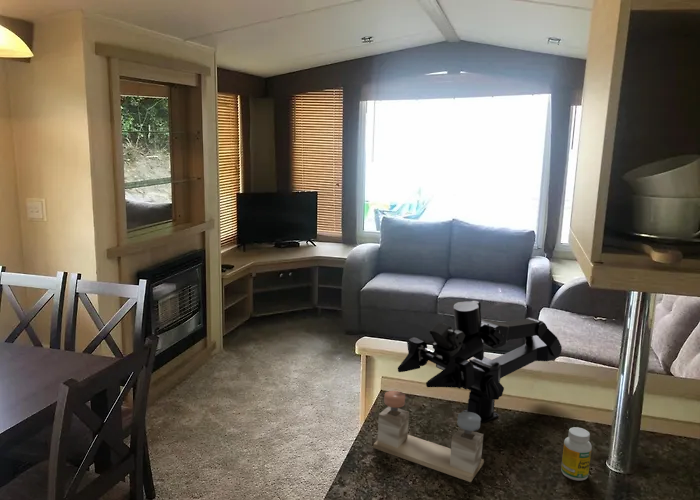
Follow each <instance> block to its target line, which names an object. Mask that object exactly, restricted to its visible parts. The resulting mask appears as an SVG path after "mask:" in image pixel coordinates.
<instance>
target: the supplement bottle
mask: <svg viewBox="0 0 700 500" xmlns="http://www.w3.org/2000/svg"><path fill="white" fill-rule="evenodd" d="M590 435H591V434H590V432H589V431H588V430H586V429H585V428H582V427H578V426H576V427H574V426H573V427H570V428H569V430H568V436H567V437H565V439H564V440H563V441H564V442H563V449H562V450H563V451H562V458H561V465H560V467H561V473H562V474H563V475H564V476H565V477H566V478H568V479H570V480H573V481H578V482H579V481H580V482H581V481H585V480H587V479H588V478H589V474H590V473H589V471H590V467H591V465H590V464H591V458H592V449H593V446H592V443H591V442H590V437H591V436H590Z"/></svg>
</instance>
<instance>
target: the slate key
mask: <svg viewBox="0 0 700 500" xmlns="http://www.w3.org/2000/svg"><path fill="white" fill-rule="evenodd" d="M480 421H481V418H480V416H479V415H477V414H475V413H472V412H463V411H461V412H460V413H458V414H457V421H456V422H457V423H456V425H457V426H458V428H459V429H460V428H462V429H464V433H466V434H472V431H474V432H476V431H478V430H479V429H480V428H481V422H480Z"/></svg>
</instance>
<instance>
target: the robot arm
mask: <svg viewBox="0 0 700 500" xmlns="http://www.w3.org/2000/svg"><path fill="white" fill-rule="evenodd" d="M481 306H482V305H481V301H478V300H472V301H468V300H467V301H466V300H465V301H458V302H456V303H454V305H453V314H454V325H455V328H453V327H452V326H450V325H447V324H446V323H443V322H440V321H438V322H437V323H436V324H434V326H432V328H431V329H430V330H429V334H430V335H431V337H432V339H433V341H434V342H433V343H432V349H433V350H431V349H430V348H429V349H428V343H427V342H425V341H424V340H422V339H420V338H417V337H415V336H413V337H411V338H409V339H408V340H407V341H406V343H407V345H406V346H407V351H408V352H407V355H406V356H405V358H404V359H403V360H402V362H401V363H400V364H399V366H398V367H397V372H398V373H403V372H409V371H414V370H418V369H421V367H423V366H425V365H427V363H428V362H431V363H433V364H435V367H436V368H437V369H439V370H441V371H439V372H438V373H437V374H436V375H434V376H433V377H431V378H430V379H428V380H427V381H426V382H425V384H426V385H425V386H426V387H427V388H455V389H463V390H466V391H467V390H468V391H469V394H468V400H467V408H466V409H465V410H463V411H462V412H472V413H475V414H477V415H479V416H480V418H481V421H480V424H481V423H482V424H483V423H487V422H488V421H491V420H493V419H495V418H497V417H499V413H497V412H495V401H496V400H499V399H500V397H502V396H503V394H504V391H505V387H504V386H503V385H502V383H501V379H502V378H504V377H506V376H508V375H510V374H512V373H514V372H516V371H518V370H521V368H524V367H526V366H528V365H530V364H532V363H534V362H551V361H554V360H556V359H557V358H559V356H560V355H561V353H562V351H563V350H562V347H563V346H562V344H561V342H560V340H559V338H558V336H556V335H555V334H554V332H552V331H551V330H550V329H549V328H548V326H547V324H546V323H545V322H544V321H542V320H540V319H536V318H533V317H526V318H522V319H516V320H507V321H502V322H501V321H499V322H498V321H493V320H490V319H484V318H483V319H482V314H481V313H482V311H481V309H482V307H481ZM517 339H523V340H524V341H525V343H524V344H523V345H521V346H519V347H517V348H515V349H513V350H510V351H508V352H506V353H503V354H502V355H500V356H498V357H495V358H493V359H491V358H488V357H486V356H484V355H485V352H486V350H485V347H484V346H487V347H489V348H490V349H491V348H492V349H495V350H497V349H500V348H501V347H503V346H505V345H507V343H508V341H512V340H517Z"/></svg>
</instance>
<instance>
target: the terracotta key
mask: <svg viewBox="0 0 700 500" xmlns="http://www.w3.org/2000/svg"><path fill="white" fill-rule="evenodd" d="M383 403H384V405H385V406H387V407H388V406H389V407H391V411H398V408H399V409H400V408H402V407H405V405H406V394H405V393H404V392H402V391H399V390H388V391H386V392H385V393H384V400H383Z"/></svg>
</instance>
